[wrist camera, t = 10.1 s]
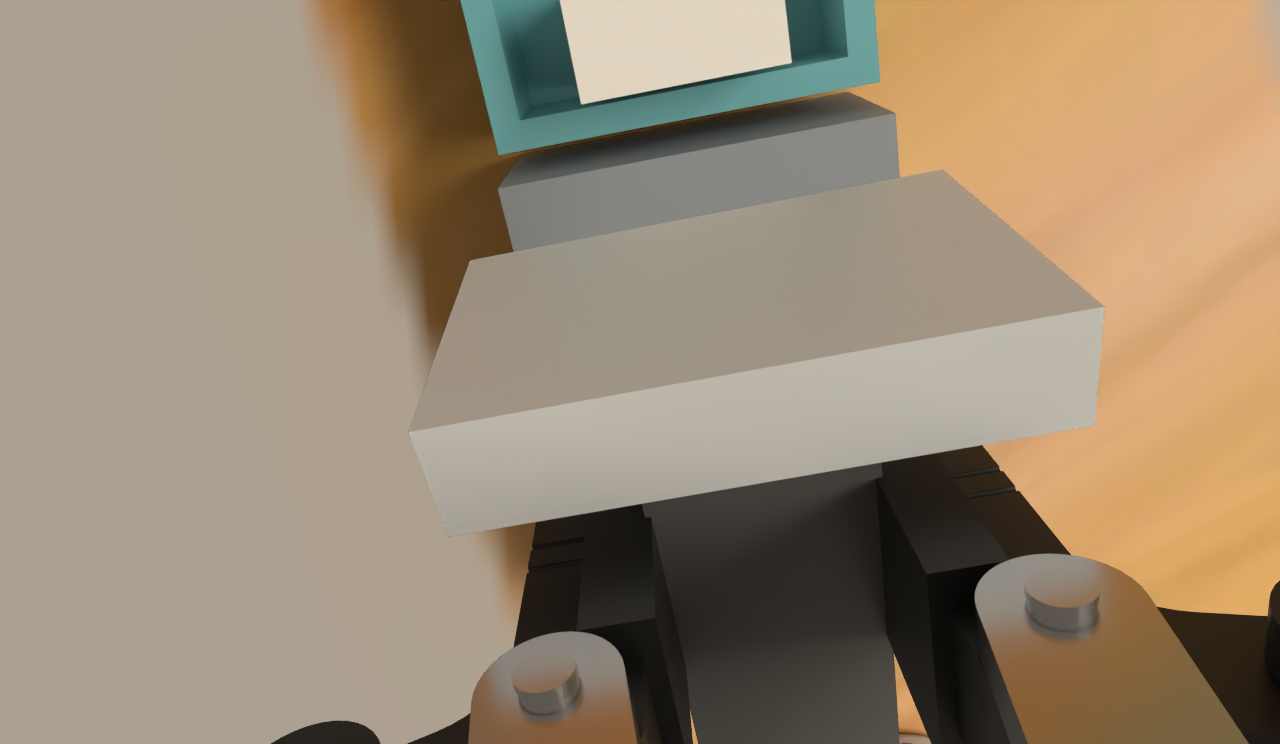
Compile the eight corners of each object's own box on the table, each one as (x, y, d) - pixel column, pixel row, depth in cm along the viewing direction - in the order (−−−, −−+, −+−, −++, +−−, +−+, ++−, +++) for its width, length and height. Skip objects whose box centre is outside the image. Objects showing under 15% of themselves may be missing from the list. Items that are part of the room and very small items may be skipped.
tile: (791, 62, 16) (778, -55, 15) (581, 104, 16) (557, -9, 16) (762, 50, 20) (751, -46, 19) (590, 83, 20) (571, -9, 19)
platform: (885, 514, 25) (928, 602, 22) (616, 558, 26) (613, 650, 22) (849, 91, 21) (895, 113, 17) (521, 154, 21) (497, 188, 18)
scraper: (951, 639, 15) (1057, 873, 11) (603, 694, 15) (601, 938, 12) (942, 169, 11) (1103, 307, 7) (470, 260, 11) (407, 432, 8)
